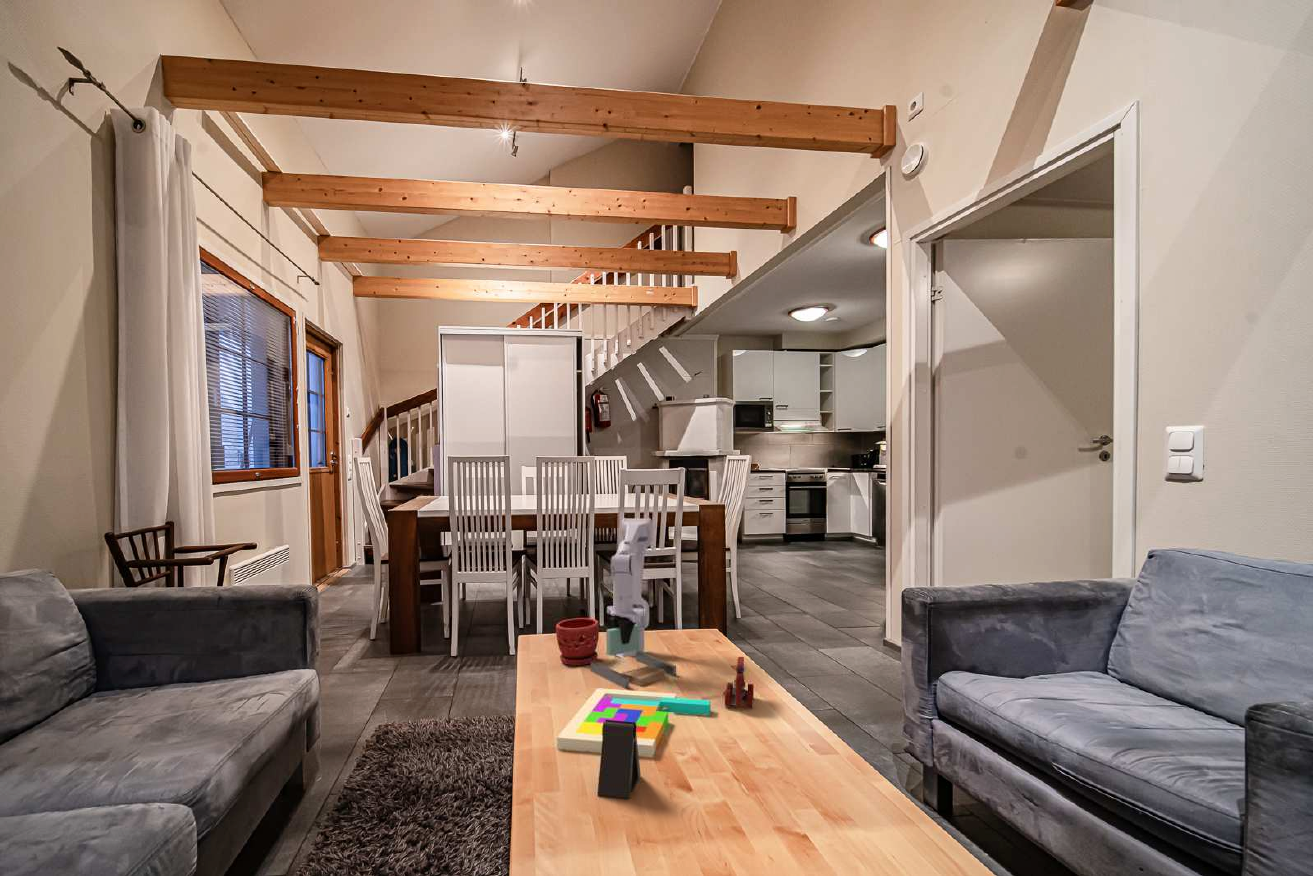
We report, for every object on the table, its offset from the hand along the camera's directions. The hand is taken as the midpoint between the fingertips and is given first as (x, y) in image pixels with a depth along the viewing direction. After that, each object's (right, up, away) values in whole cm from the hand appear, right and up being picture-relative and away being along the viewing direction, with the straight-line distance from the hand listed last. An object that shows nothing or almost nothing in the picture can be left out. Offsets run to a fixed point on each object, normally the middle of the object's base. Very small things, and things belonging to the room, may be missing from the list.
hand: (623, 642), depth 185 cm
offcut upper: (+6, -7, -9) cm, 13 cm away
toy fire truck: (+31, -8, -23) cm, 40 cm away
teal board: (0, -3, 0) cm, 3 cm away
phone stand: (+3, -7, -64) cm, 65 cm away
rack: (+3, -9, -4) cm, 10 cm away
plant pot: (-15, -10, +11) cm, 21 cm away
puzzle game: (+6, -8, -37) cm, 38 cm away
